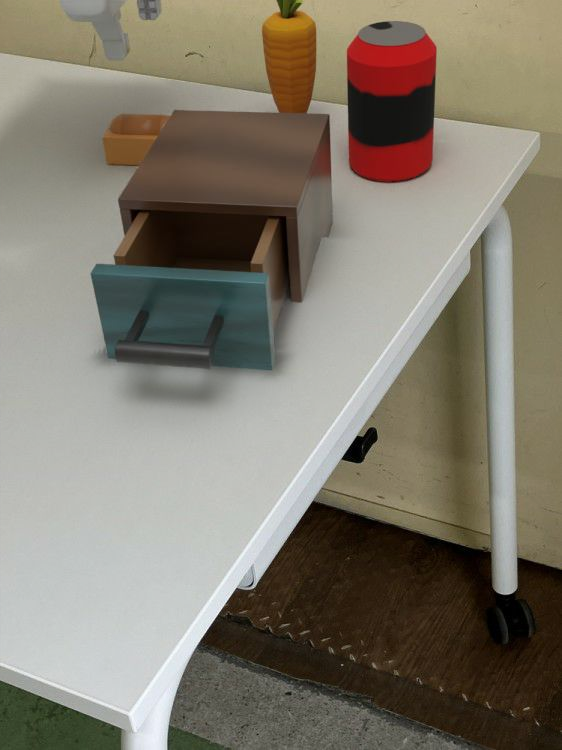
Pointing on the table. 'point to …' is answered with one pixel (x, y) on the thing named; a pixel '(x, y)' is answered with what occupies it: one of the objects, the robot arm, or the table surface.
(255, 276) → the drawer
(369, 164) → the soda can
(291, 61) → the carrot
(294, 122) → the cabinet
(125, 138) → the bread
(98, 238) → the table surface
